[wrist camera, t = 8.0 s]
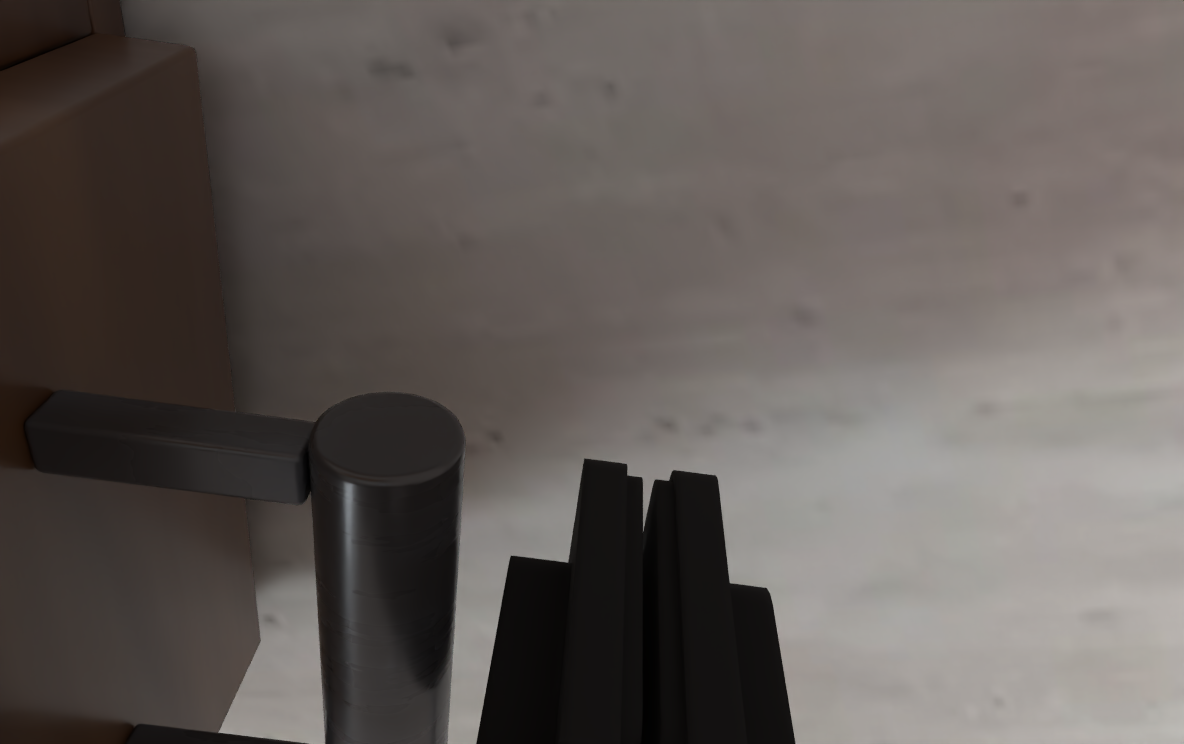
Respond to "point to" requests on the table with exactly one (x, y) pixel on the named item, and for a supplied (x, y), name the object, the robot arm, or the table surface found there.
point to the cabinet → (52, 25)
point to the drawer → (181, 445)
